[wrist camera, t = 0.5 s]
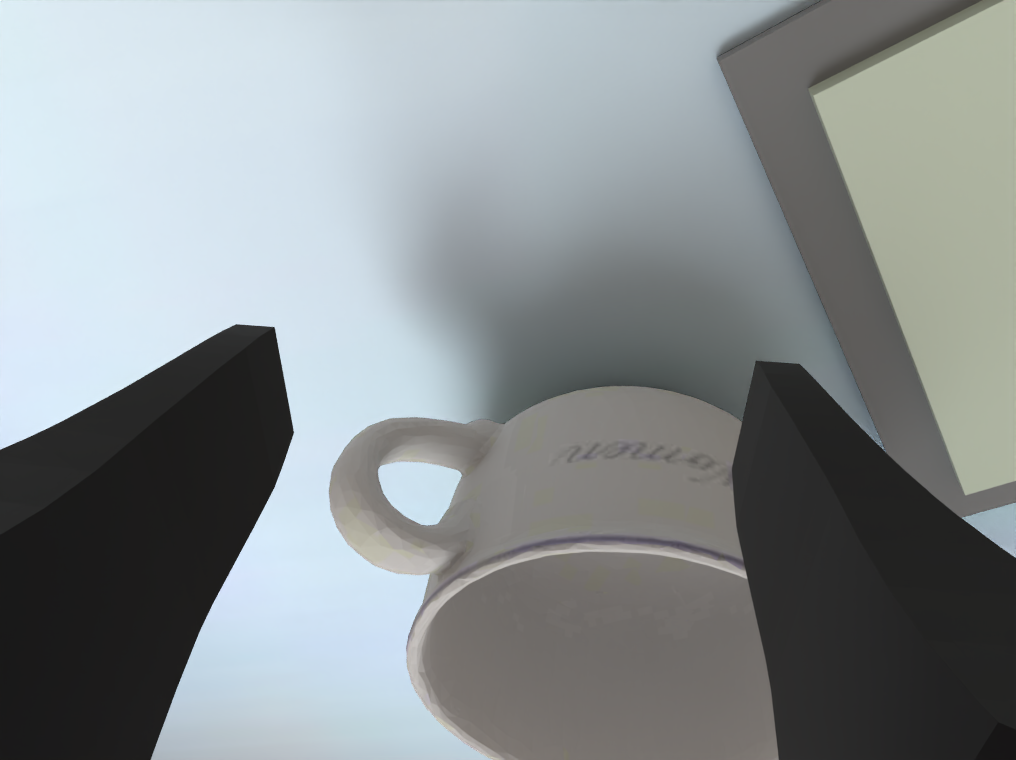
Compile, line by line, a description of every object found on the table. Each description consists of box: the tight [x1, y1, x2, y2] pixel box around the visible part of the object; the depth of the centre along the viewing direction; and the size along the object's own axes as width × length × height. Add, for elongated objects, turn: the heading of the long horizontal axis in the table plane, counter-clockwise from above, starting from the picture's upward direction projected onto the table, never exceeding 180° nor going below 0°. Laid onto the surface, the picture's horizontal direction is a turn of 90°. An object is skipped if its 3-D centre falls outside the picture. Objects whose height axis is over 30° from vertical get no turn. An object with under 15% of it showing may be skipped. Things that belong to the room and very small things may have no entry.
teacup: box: [329, 386, 779, 760], centre depth 22 cm, size 14×11×8 cm
